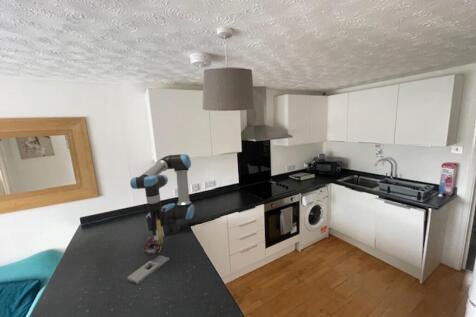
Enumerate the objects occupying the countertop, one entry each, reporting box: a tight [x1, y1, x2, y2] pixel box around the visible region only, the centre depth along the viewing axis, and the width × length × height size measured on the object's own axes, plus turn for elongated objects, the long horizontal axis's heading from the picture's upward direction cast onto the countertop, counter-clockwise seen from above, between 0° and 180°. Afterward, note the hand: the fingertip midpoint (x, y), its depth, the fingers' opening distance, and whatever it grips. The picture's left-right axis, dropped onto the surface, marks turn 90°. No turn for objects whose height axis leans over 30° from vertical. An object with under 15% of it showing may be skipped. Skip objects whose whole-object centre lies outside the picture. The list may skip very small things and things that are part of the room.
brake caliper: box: [143, 236, 162, 256], centre depth 142 cm, size 11×11×12 cm
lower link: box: [145, 254, 170, 276], centre depth 126 cm, size 16×9×1 cm, turn 153°
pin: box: [156, 219, 164, 245], centre depth 122 cm, size 4×4×15 cm
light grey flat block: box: [126, 260, 160, 285], centre depth 119 cm, size 16×9×2 cm, turn 153°
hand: (159, 237), depth 122 cm, fingers closed on pin, 3 cm apart
